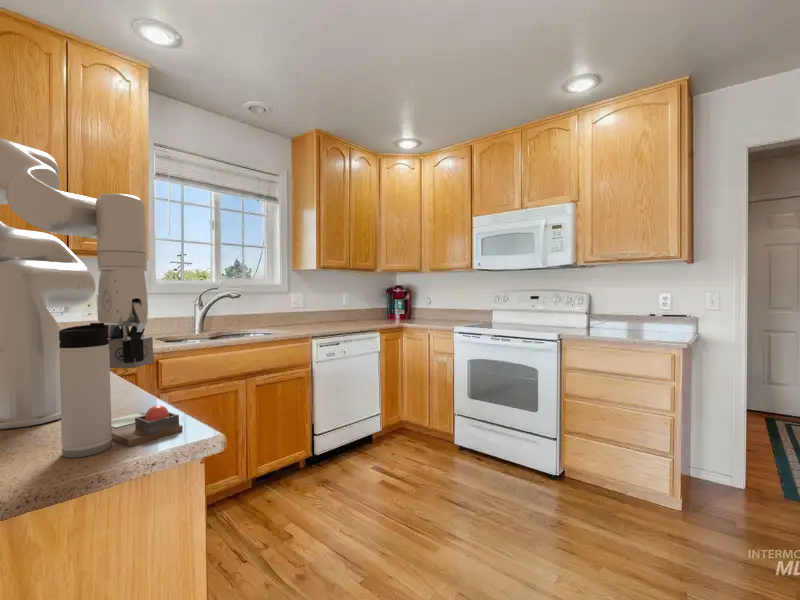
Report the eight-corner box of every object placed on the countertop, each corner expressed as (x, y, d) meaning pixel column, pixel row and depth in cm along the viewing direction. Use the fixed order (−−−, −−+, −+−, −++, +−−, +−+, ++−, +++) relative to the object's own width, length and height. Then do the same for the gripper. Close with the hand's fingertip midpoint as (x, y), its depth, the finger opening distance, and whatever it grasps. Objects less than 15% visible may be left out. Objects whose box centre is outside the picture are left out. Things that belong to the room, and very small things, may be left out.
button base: (92, 429, 74) (91, 413, 74) (143, 417, 81) (143, 402, 81) (129, 446, 66) (128, 428, 66) (182, 431, 73) (182, 414, 73)
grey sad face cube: (134, 368, 74) (133, 340, 73) (108, 368, 74) (107, 340, 74) (153, 362, 79) (152, 336, 78) (128, 362, 79) (127, 337, 79)
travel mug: (122, 441, 68) (118, 322, 68) (93, 458, 61) (90, 325, 61) (83, 442, 68) (80, 323, 67) (51, 459, 61) (47, 326, 61)
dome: (141, 428, 71) (141, 406, 71) (163, 422, 74) (162, 401, 74) (151, 431, 69) (150, 409, 69) (173, 426, 72) (172, 404, 72)
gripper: (80, 264, 77) (83, 360, 77) (120, 259, 67) (123, 368, 68) (125, 266, 83) (127, 354, 83) (167, 261, 73) (170, 361, 74)
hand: (126, 359), depth 76 cm, fingers closed on grey sad face cube, 5 cm apart
